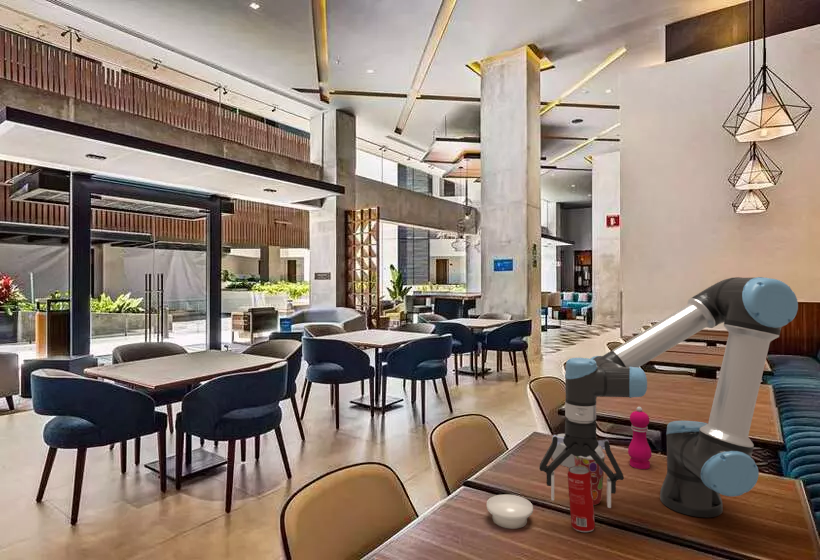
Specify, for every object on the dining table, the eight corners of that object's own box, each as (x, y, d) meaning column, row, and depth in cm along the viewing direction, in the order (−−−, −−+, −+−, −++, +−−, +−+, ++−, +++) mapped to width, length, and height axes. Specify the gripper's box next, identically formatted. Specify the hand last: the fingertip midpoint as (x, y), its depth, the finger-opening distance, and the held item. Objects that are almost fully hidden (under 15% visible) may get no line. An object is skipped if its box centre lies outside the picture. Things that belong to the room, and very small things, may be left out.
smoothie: (582, 491, 144) (581, 424, 144) (610, 500, 138) (609, 431, 138) (568, 500, 138) (568, 431, 138) (597, 510, 132) (596, 438, 132)
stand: (533, 511, 132) (533, 497, 132) (531, 534, 120) (531, 518, 120) (489, 506, 135) (489, 492, 135) (483, 527, 124) (483, 512, 124)
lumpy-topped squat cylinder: (574, 453, 175) (574, 429, 174) (595, 467, 162) (595, 441, 162) (548, 456, 172) (548, 432, 172) (567, 470, 160) (567, 444, 160)
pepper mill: (655, 470, 159) (655, 409, 159) (633, 470, 159) (633, 409, 159) (645, 461, 166) (645, 403, 166) (624, 461, 166) (624, 403, 166)
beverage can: (598, 533, 121) (597, 474, 120) (572, 533, 121) (571, 474, 121) (589, 521, 127) (589, 464, 126) (565, 521, 127) (564, 464, 127)
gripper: (529, 419, 123) (529, 501, 124) (636, 428, 116) (635, 515, 116) (531, 411, 131) (530, 489, 131) (631, 419, 123) (631, 501, 124)
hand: (580, 501), depth 124 cm, fingers open, 13 cm apart
